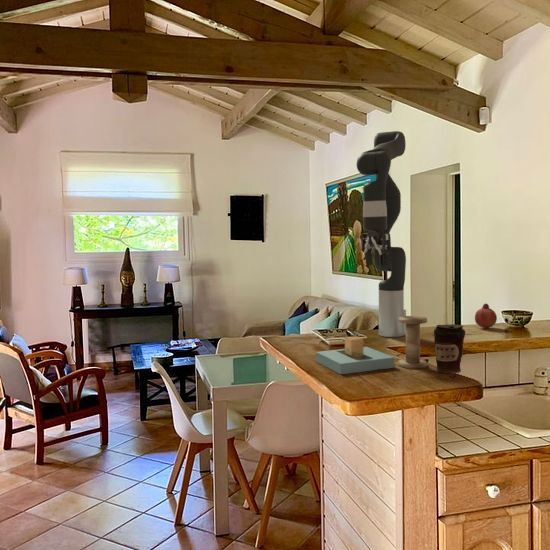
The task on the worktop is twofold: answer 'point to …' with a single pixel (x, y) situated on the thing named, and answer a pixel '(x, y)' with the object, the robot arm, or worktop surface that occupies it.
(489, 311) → the fruit
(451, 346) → the coffee cup
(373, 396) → the worktop surface
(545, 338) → the worktop surface
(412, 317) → the bobbin
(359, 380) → the worktop surface
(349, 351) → the orange rectangular block
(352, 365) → the board
